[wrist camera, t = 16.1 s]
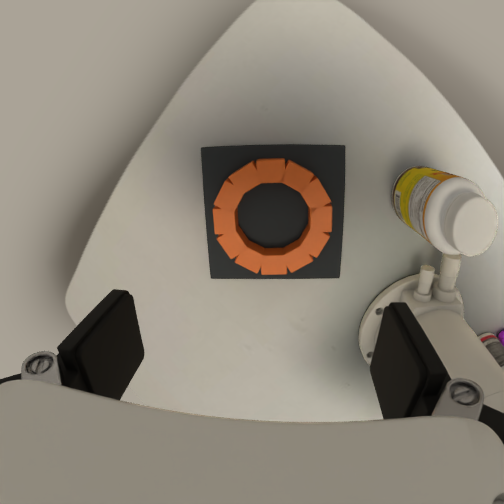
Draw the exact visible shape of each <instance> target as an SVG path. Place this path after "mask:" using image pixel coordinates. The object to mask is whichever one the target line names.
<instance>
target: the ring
mask: <svg viewBox="0 0 504 504" xmlns="http://www.w3.org/2000/svg"><path fill="white" fill-rule="evenodd" d="M261 183H283V184H285V185H287V186H289V187H291V188H293V189H295V190H296V191H298V192H300V193H301V195H302V197H303V198H304V200H305V202H306V203H307V205H308V224H307V226H306V228H305V230H304V231H303V233H302V235H301V236H300V238H299V239H298V240H296V241H294V242H293V243H291V244H289V245H287V246H286V247H284V248H263V247H262V246H260V245H258V244H256V243H254V242H252V241H250V240H248V238H247V237H246V235H245V234H244V232H243V231H242V229H241V228H240V226H239V225H238V210H237V206H238V204H239V202H240V201H241V199H242V197H243V195H244V194H245V193H246V192H248V191H249V190H251V189H253V188H254V187H256V186H257V185H259V184H261ZM330 202H331V200H330V198H329V196H328V195H327V193H326V191H325V189H324V188H323V186H322V184H321V183H320V181H319V179H318V178H317V177H316V176H315V175H314V174H313V173H312V172H311V171H309V170H307V169H306V168H304V167H302V166H300V165H298V164H297V163H295V162H293V161H291V160H288V161H287V163H286V165H285V159H284V158H272V159H258V160H257V161H256V164H255V162H254V161H251V162H250V163H248V164H247V165H245V166H243V167H242V168H240V169H239V170H237V171H236V172H234V173H232V174H231V175H230V176H229V178H228V179H226V180H225V182H224V184H223V186H222V188H221V190H220V192H219V194H218V196H217V198H216V200H215V202H214V205H215V207H214V208H213V220H214V231H215V234H219V235H218V237H217V240H218V242H219V243H220V245H221V246H222V247H223V249H224V250H225V252H226V253H227V255H228V256H229V257H230V259H233V258H235V257H236V259H235V263H237V264H239V265H241V266H243V267H245V268H247V269H249V270H251V271H253V272H255V273H258V272H259V270H260V268H261V274H262V275H277V274H287V267H288V269H289V271H290V272H291V273H292V272H294V271H296V270H298V269H300V268H302V267H303V266H305V265H307V264H309V263H311V262H312V261H313V257H312V256H314V257H316V258H317V257H318V255H319V254H320V252H321V251H322V249H323V247H324V246H325V244H326V243H327V241H328V239H329V238H330V235H329V233H328V232H332V205H331V204H330Z"/></svg>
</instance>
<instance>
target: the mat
mask: <svg viewBox="0 0 504 504" xmlns="http://www.w3.org/2000/svg"><path fill="white" fill-rule="evenodd" d="M201 157H202V174H203V189H204V203H205V217H206V229H207V241H208V253H209V264H210V274H211V278H213V279H310V278H339V277H340V265H341V251H342V236H343V218H344V194H345V146H341V145H242V146H221V147H205V148H201ZM272 158H284V159H285V165H286V163H287V161H288V160H291V161H293V162H295V163H297V164H298V165H300V166H302V167H304V168H306V169H307V170H309V171H311V172H312V173H313V174H314V175H315V176H316V177H317V178H318V179H319V181H320V183H321V184H322V186H323V188H324V189H325V191H326V193H327V195H328V196H329V198H330V200H331V202H330V204H331V205H332V232H328V233H329V235H330V238H329V239H328V241H327V243H326V244H325V246H324V247H323V249H322V251H321V252H320V254H319V255H318V257H317V258H316V257H314V256H312V257H313V261H312V262H311V263H309V264H307V265H305V266H303V267H302V268H300V269H298V270H296V271H294V272H292V273H291V272H290V271H289V269H288V267H287V274H277V275H262V274H261V268H260V270H259V272H258V273H255V272H253V271H251V270H249V269H247V268H245V267H243V266H241V265H239V264H237V263H235V259H236V257H235V258H233V259H230V257H229V256H228V255H227V253H226V252H225V250H224V249H223V247H222V246H221V245H220V243H219V242H218V240H217V237H218V235H219V234H215V231H214V220H213V208H214V207H215V205H214V202H215V200H216V198H217V196H218V194H219V192H220V190H221V188H222V186H223V184H224V182H225V180H226V179H228V178H229V176H230V175H231V174H232V173H234V172H236V171H237V170H239V169H240V168H242V167H243V166H245V165H247V164H248V163H250V162H251V161H254V162H255V164H256V161H257V160H258V159H272ZM237 210H238V225H239V226H240V228H241V229H242V231H243V232H244V234H245V235H246V237H247V238H248V240H250V241H252V242H254V243H256V244H258V245H260V246H262V247H263V248H284V247H286V246H287V245H289V244H291V243H293V242H294V241H296V240H298V239H299V238H300V236H301V235H302V233H303V231H304V230H305V228H306V226H307V224H308V205H307V203H306V202H305V200H304V198H303V197H302V195H301V193H300V192H298V191H296V190H295V189H293V188H291V187H289V186H287V185H285V184H283V183H261V184H259V185H257V186H256V187H254V188H253V189H251V190H249V191H248V192H246V193H245V194H244V195H243V197H242V199H241V201H240V202H239V204H238V206H237Z"/></svg>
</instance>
